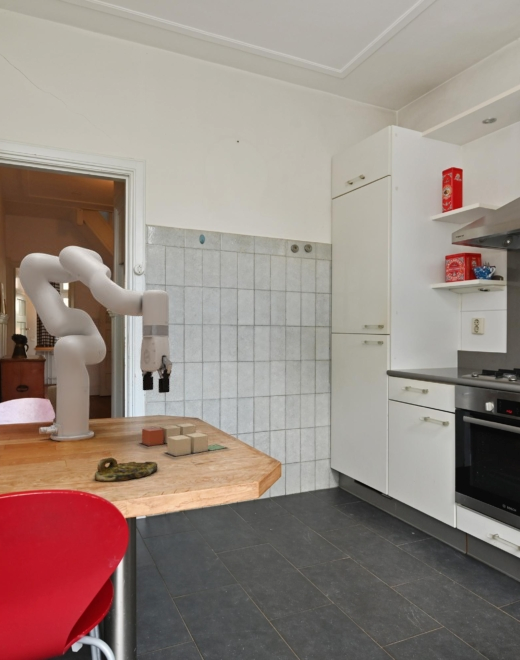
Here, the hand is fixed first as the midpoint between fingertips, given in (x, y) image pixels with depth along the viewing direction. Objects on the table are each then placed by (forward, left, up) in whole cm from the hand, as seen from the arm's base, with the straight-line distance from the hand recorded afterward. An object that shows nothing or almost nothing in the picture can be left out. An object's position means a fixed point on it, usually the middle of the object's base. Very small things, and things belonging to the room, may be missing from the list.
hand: (155, 391), depth 139 cm
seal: (-19, -24, -16) cm, 35 cm away
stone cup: (-10, +47, -16) cm, 51 cm away
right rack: (+5, -15, -16) cm, 22 cm away
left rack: (+5, 0, -16) cm, 16 cm away
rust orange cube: (-1, 0, -15) cm, 15 cm away
